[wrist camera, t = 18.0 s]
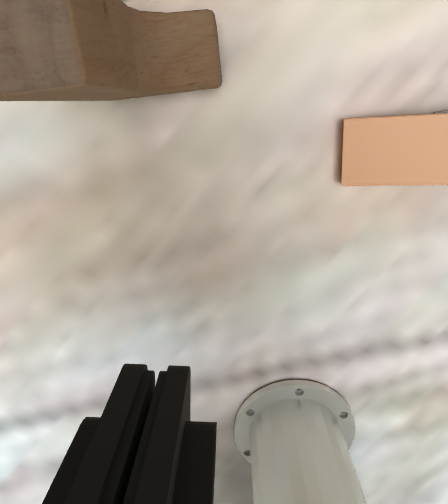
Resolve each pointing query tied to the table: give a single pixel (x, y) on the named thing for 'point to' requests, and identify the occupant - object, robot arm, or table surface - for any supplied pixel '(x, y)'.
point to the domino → (395, 150)
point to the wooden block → (103, 51)
